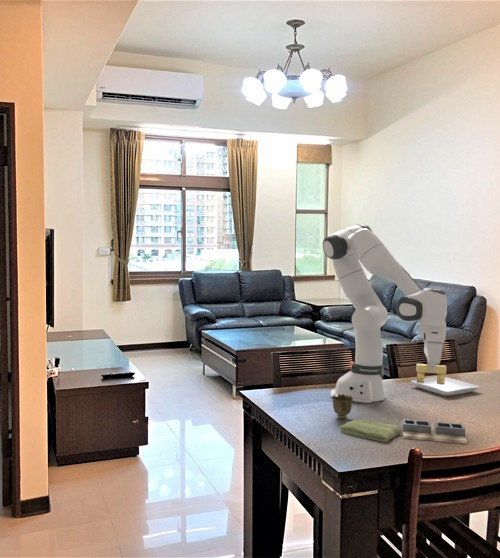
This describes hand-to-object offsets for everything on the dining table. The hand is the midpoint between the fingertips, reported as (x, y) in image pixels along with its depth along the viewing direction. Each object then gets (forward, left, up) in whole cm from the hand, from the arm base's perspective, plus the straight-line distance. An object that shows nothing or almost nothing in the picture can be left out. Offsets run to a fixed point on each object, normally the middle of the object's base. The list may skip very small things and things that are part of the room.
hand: (430, 371), depth 204 cm
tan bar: (0, 0, -4) cm, 4 cm away
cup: (-31, -4, -19) cm, 37 cm away
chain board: (0, -13, -19) cm, 23 cm away
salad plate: (+11, +48, -19) cm, 53 cm away
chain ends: (0, -13, -19) cm, 23 cm away
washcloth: (-21, -17, -20) cm, 33 cm away
